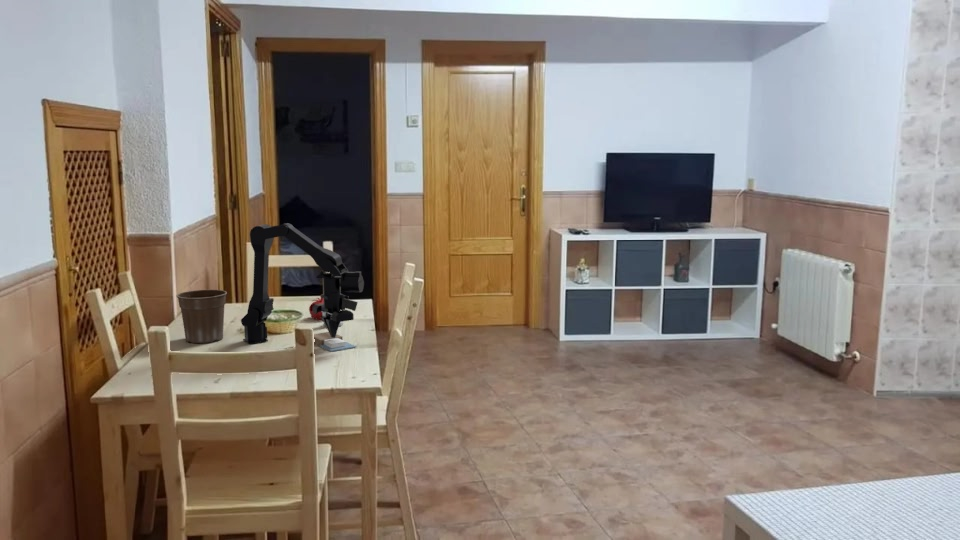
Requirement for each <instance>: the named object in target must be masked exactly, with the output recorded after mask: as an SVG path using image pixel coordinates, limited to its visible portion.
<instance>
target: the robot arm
mask: <svg viewBox="0 0 960 540" xmlns="http://www.w3.org/2000/svg"><path fill="white" fill-rule="evenodd" d="M278 237H283V238H285V239H287V240H288V241H289V242H291V243H292V244H294V245H295V246H296V247H297V248H299V249H300V250H301V251H303V252H304V253H306V254H307V255H308V256H310V258H312V259H313V261H314V263H315V264H316V265H317V266H318V267H319V268H320V270H321V271H320V272H319V273H318V274H317V275H316V276H315V278H316V279H322V294H320V295H321V297H320V299H321V298H323V301H324V303H321V304H315V305H314V306H313V307H312V308H313V313H315V314H318V312H322V316H320V318H321V319H322V320H321V321H322V322H323V324H325V328H326V330H327V332H329V333H330V335H331V337H332V338H335V337H336V334H338V329H339V327H340V326H339V324H340V322H342V323H343V322H349V321H353V320H354V319H355V318H354V315H355V314H354V313H353V312H356V310H357V307H358V301H355V300H352V299H350V298H349V295H345V294H343V293H341V292H342V291H343V292H344V293H362V292H363V291H364V286H365V280H364V277H363V275H362V271H349V269H348V268H347V267H346V266H345V263H343V261H342V257H341V255H340V254H339V253H337V252H335V251H333V250H331V249H328V248H326V247H323V246H321V245H319V244H317V243H316V242H315V241H313V240H312V239H311V238H309V236H306V235H305V234H304V233H303V232H301V231H300V230H299V229H297V228H296V227H294V226H293V224H291V223H288V222H287V223H283V224H278V225H272V226H271V225H270V224H260V225H256V226H254V227H252V228H251V229H250V232H249V238H250V245H251V247H252V250H253V253H254V254H253V280H252V281H253V284H252V286H253V287H252V296H251V298H250V300H249V302H248V307H247V313H246V314H245V315H244V316H243V317H242V318H241V319H240V323H241V325H242V326H243V328H244V338H243V339H242V341H243V342H245V343H247V344H249V345H253V344H260V343H266V341H267V342H268V341H269V339H268V327H267V326H266V322H267V319H268V317H269V316H270V315H271V314H272V311H274V300H275V299H274V298H273V297H272V298H271V297H270V296H269V293H268V290H269V289H268V288H269V287H268V286H269V263H270V262H269V261H270V259H269V258H270V250H271V247H272V246H273V243H274V239H275V238H278ZM351 310H352V311H353V312H352V311H351Z"/></svg>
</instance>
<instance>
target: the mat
mask: <svg viewBox="0 0 960 540" xmlns="http://www.w3.org/2000/svg"><path fill="white" fill-rule="evenodd" d="M345 342H346V346H343V347H337V348H330V347H328V346H326V345H319V347H320V348H322V349H325V350H327V351H329V352H330V353H332V352H339V351H344V350H349V349H355V347H356V348H357V346H356V345H354V344H352V343H349V342H348V341H345Z"/></svg>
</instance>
